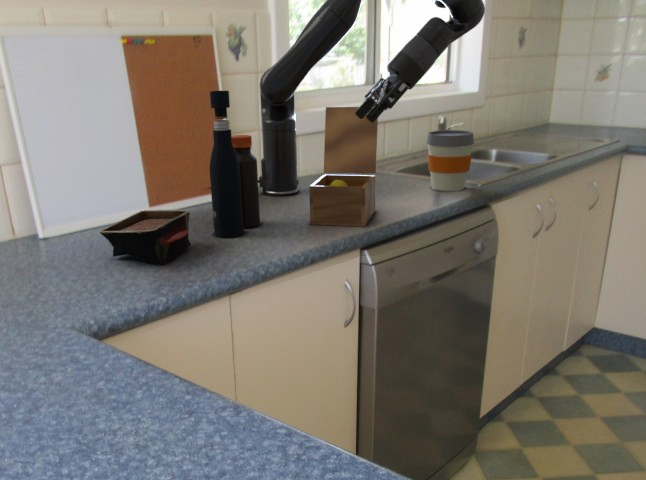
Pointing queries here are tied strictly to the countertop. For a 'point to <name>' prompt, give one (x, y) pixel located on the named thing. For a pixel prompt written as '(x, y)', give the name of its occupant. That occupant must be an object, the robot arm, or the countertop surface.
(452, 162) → the reusable coffee cup
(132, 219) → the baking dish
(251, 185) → the vinegar
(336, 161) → the lid
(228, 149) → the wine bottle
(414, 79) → the robot arm
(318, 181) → the chest
